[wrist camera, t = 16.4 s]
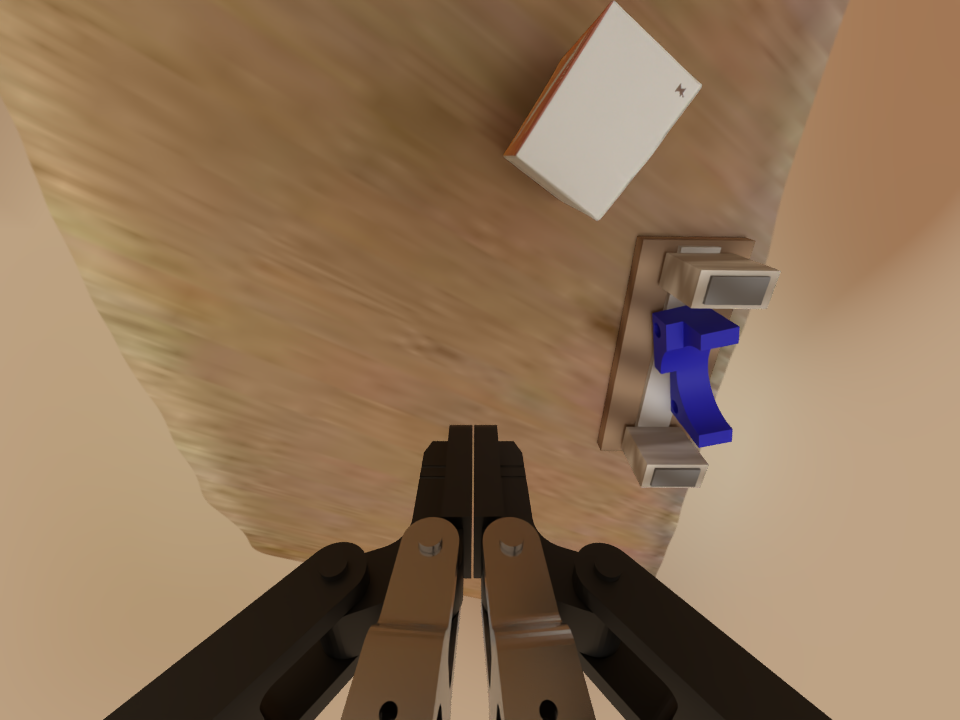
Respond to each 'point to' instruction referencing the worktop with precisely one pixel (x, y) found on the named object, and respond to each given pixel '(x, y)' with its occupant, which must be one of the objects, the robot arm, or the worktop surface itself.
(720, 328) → the blue curved piece
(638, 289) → the rail board
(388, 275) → the worktop surface
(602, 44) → the small box
